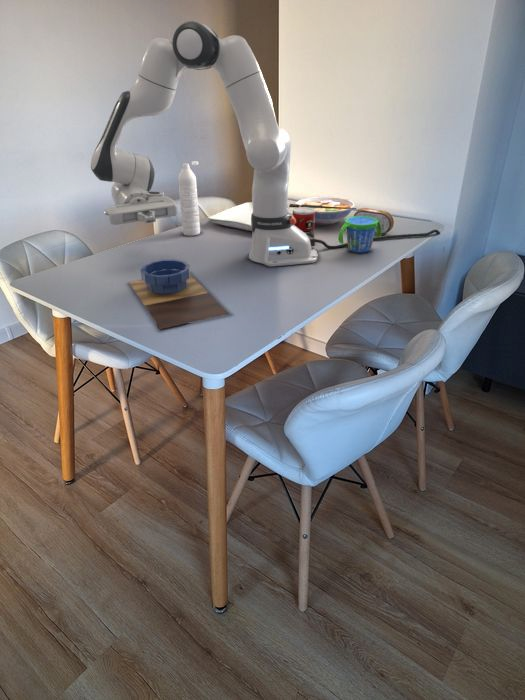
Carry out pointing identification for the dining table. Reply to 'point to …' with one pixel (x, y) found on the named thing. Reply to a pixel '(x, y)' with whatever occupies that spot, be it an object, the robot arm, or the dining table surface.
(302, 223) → the canned food
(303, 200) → the ramen bowl
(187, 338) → the dining table surface
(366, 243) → the snack cup
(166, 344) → the dining table surface
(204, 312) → the mat
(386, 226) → the tin
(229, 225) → the square plate
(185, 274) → the bowl
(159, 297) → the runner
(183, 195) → the water bottle
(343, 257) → the dining table surface
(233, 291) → the dining table surface
